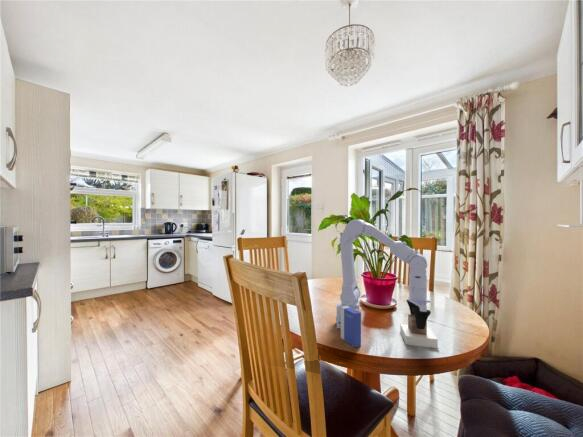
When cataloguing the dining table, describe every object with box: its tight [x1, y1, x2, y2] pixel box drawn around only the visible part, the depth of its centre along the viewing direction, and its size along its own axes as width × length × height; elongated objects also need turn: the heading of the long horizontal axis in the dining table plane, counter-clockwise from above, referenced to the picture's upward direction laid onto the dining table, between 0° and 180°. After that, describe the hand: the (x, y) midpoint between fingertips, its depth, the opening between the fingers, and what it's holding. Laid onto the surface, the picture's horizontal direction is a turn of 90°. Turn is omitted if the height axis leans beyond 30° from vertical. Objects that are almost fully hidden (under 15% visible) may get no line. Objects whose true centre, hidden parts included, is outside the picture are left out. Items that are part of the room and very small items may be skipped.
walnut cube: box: [407, 313, 428, 335], centre depth 90 cm, size 5×5×5 cm
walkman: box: [340, 306, 362, 348], centre depth 88 cm, size 8×3×12 cm, turn 26°
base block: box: [399, 323, 439, 349], centre depth 90 cm, size 10×10×3 cm
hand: (417, 324), depth 90 cm, fingers open, 7 cm apart
